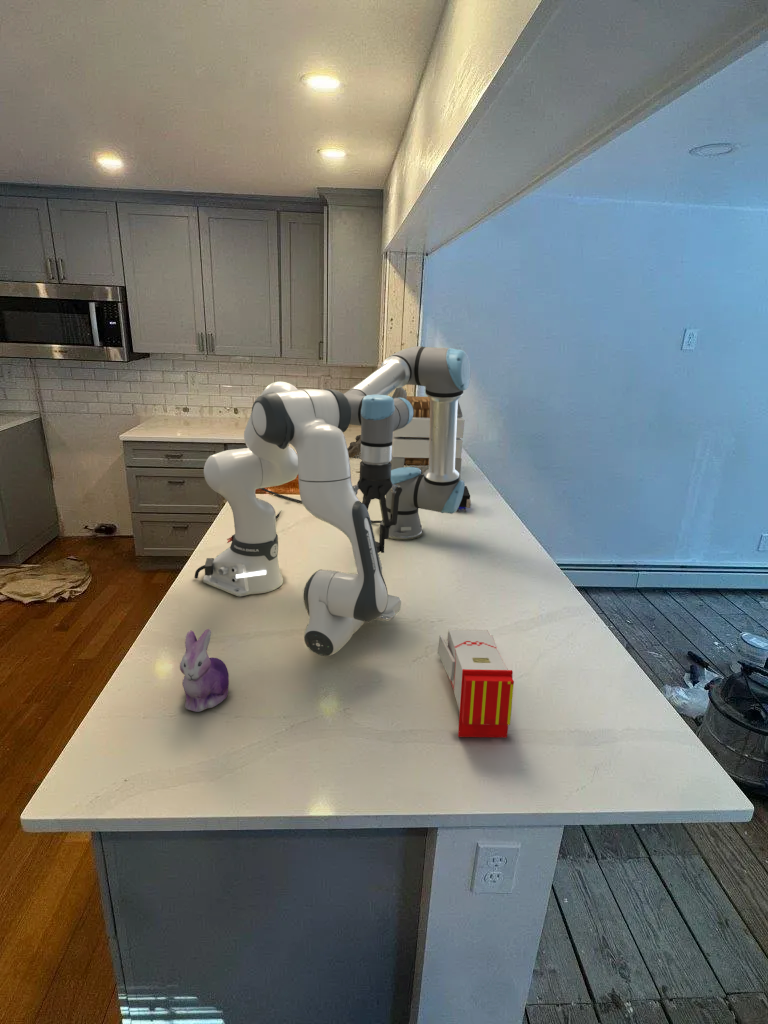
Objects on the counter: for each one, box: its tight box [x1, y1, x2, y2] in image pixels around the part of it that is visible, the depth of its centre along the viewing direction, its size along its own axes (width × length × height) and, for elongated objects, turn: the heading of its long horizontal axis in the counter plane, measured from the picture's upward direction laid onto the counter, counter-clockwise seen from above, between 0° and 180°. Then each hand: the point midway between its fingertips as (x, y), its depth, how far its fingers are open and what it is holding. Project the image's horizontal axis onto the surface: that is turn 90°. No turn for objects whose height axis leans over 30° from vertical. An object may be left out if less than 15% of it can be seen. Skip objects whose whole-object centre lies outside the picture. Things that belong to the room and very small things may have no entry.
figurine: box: [179, 628, 230, 713], centre depth 110 cm, size 9×10×15 cm
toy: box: [437, 628, 515, 738], centre depth 117 cm, size 12×13×30 cm
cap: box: [375, 540, 381, 554], centre depth 143 cm, size 4×4×2 cm
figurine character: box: [456, 485, 472, 513], centre depth 228 cm, size 7×8×15 cm
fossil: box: [347, 434, 361, 458], centre depth 305 cm, size 22×10×15 cm
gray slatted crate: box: [390, 387, 465, 480], centre depth 268 cm, size 34×33×41 cm
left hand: (372, 587), depth 148 cm, fingers closed on bottle, 5 cm apart
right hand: (372, 550), depth 143 cm, fingers closed on cap, 4 cm apart
